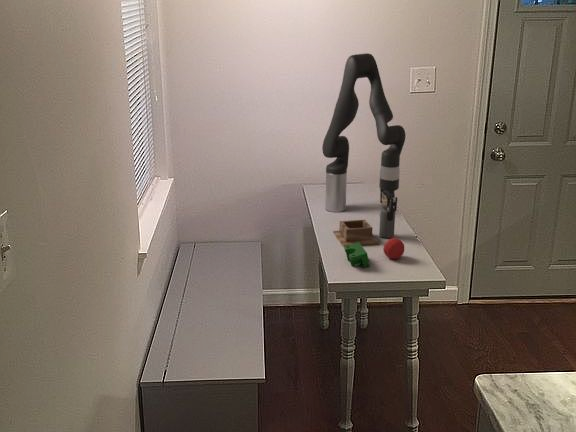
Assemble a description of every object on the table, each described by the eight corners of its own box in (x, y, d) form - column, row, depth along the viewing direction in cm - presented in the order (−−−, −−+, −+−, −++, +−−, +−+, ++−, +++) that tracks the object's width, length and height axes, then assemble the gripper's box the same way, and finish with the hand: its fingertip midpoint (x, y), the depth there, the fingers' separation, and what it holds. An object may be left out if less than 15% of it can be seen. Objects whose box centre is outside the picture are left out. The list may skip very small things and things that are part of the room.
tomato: (403, 239, 239) (390, 229, 245) (387, 254, 239) (375, 244, 244) (411, 252, 244) (398, 242, 250) (395, 266, 244) (383, 256, 250)
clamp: (349, 270, 246) (342, 246, 246) (365, 265, 246) (358, 242, 247) (354, 270, 234) (347, 245, 234) (370, 265, 234) (363, 241, 235)
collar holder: (333, 233, 271) (333, 219, 269) (366, 231, 273) (366, 217, 271) (343, 247, 256) (344, 232, 254) (378, 244, 258) (379, 230, 256)
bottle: (395, 233, 269) (397, 198, 264) (392, 238, 264) (394, 202, 259) (380, 232, 271) (382, 196, 266) (377, 237, 265) (379, 201, 260)
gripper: (374, 172, 265) (372, 212, 271) (386, 182, 252) (384, 224, 257) (392, 171, 266) (390, 211, 272) (405, 181, 253) (402, 223, 258)
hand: (387, 217), depth 264 cm, fingers closed on bottle, 6 cm apart
